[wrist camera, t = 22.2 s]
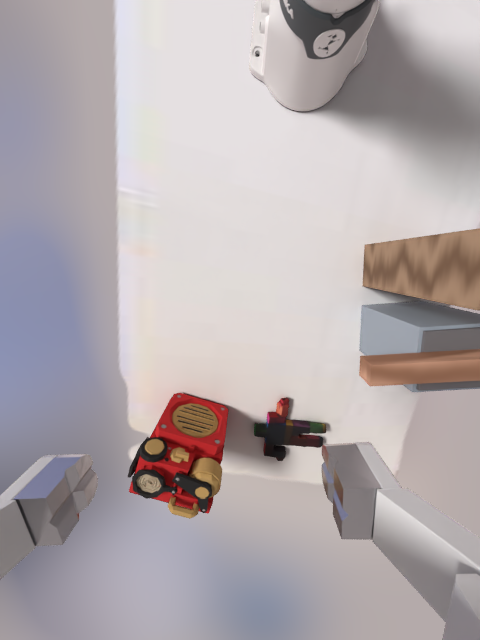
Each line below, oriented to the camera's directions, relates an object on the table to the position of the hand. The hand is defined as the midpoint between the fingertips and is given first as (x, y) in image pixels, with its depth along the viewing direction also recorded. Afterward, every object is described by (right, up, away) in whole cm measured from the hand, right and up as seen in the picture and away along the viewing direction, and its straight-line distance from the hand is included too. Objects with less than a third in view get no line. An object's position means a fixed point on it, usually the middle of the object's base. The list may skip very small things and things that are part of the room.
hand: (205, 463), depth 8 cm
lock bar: (+29, -1, +24) cm, 38 cm away
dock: (+33, +4, +40) cm, 52 cm away
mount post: (+32, +16, +37) cm, 52 cm away
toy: (+13, -22, +48) cm, 55 cm away
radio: (-9, -18, +48) cm, 52 cm away
